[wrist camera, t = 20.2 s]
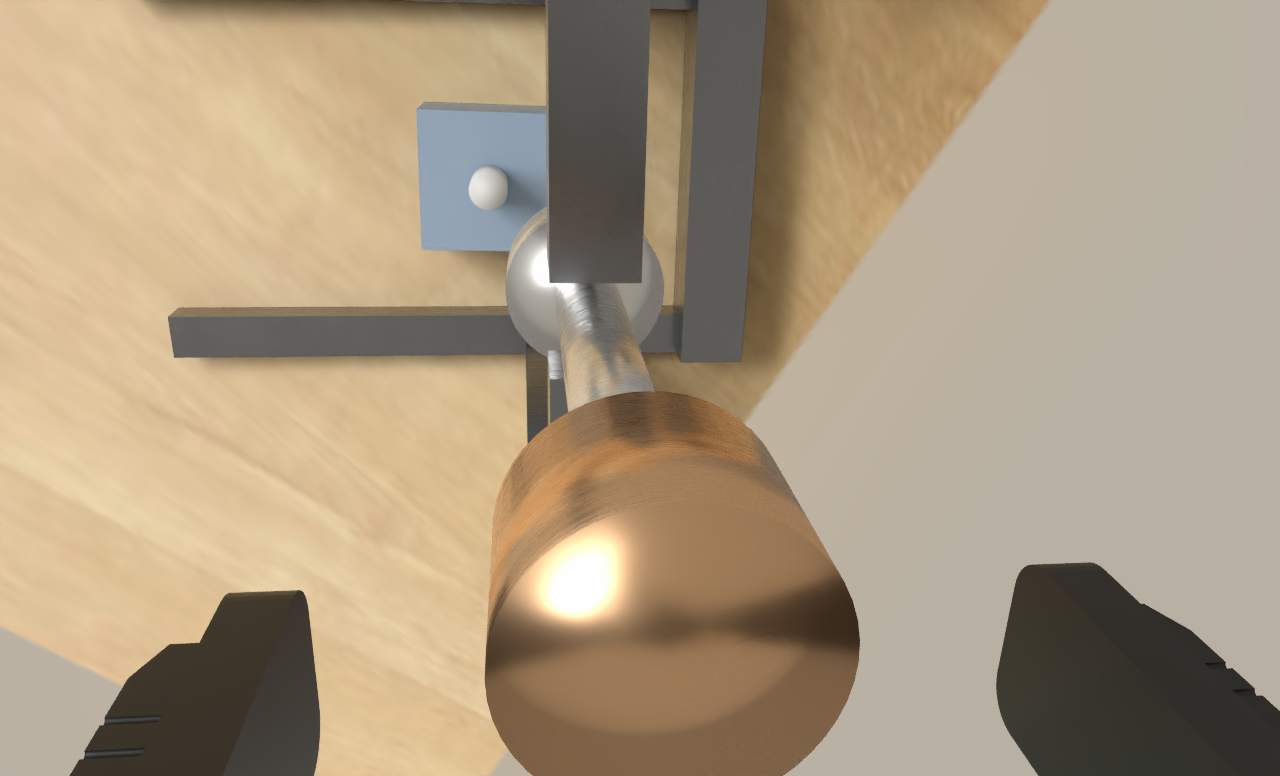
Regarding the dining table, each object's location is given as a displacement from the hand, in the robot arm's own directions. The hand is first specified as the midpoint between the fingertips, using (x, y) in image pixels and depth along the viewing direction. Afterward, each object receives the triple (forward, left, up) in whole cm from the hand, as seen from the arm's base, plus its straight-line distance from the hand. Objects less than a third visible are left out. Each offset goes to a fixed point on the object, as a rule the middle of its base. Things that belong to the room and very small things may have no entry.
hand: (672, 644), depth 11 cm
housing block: (0, -3, -37) cm, 37 cm away
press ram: (0, 0, -16) cm, 16 cm away
